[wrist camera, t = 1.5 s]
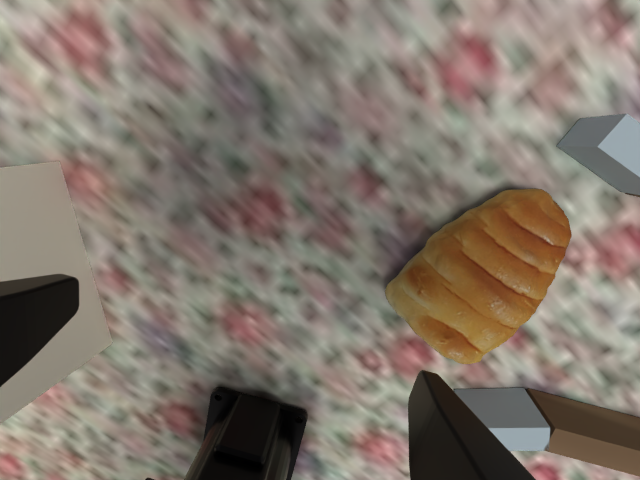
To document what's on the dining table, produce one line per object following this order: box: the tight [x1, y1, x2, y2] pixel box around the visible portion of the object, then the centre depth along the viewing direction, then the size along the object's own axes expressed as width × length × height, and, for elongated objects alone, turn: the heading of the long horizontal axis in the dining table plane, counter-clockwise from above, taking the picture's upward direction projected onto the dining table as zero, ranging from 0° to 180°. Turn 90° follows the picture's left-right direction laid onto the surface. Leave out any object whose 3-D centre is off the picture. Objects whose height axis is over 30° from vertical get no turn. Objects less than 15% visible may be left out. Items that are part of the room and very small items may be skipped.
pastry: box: [385, 189, 571, 364], centre depth 17 cm, size 9×7×4 cm
